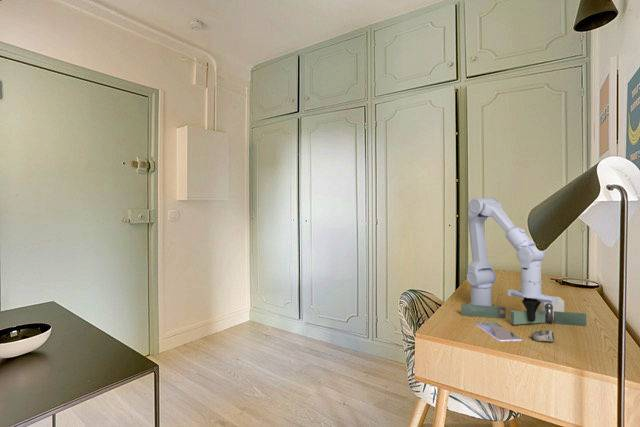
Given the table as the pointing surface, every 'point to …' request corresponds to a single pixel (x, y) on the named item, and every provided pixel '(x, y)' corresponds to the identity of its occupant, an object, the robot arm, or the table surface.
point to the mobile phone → (498, 331)
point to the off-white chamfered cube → (557, 307)
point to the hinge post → (564, 317)
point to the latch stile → (483, 311)
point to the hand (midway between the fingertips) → (531, 320)
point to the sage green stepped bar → (522, 317)
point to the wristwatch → (543, 335)
